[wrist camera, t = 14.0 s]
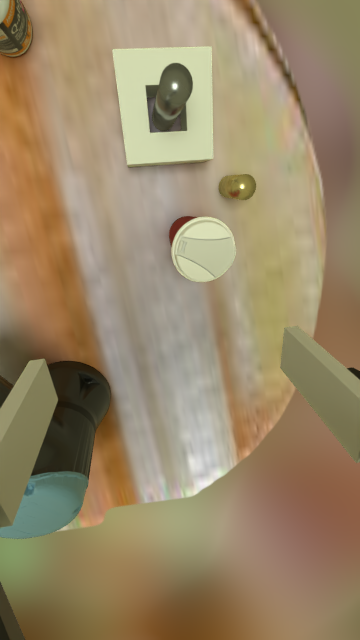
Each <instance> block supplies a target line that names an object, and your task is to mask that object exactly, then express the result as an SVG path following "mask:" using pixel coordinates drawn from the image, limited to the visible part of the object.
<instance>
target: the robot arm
mask: <svg viewBox="0 0 360 640" xmlns="http://www.w3.org/2000/svg"><path fill="white" fill-rule="evenodd" d="M280 368H281V369H282V371H283V372H284V373H285V374H286V376H287V377H288V378H289V379H290V381H291V382H292V383H293V384H294V386H295V387H296V388H297V389H298V391H299V392H300V393H301V394H302V395H303V397H304V398H305V399H306V401H307V402H308V403H309V404H310V406H311V407H312V408H313V409H314V411H315V412H316V413H317V414H318V416H319V417H320V418H321V419H322V421H323V422H324V423H325V424H326V426H327V427H328V428H329V429H330V431H331V432H332V433H333V434H334V436H335V437H336V438H337V439H338V441H339V442H340V443H341V444H342V446H343V447H344V448H345V450H346V451H347V452H348V453H349V454H350V456H351V457H352V458H353V459H354V461H355V462H356V463H358V462H360V371H358V370H356V369H354V368H345V367H344V366H343V365H342V364H341V363H340V362H338V361H337V360H336V359H335V358H334V357H333V356H332V355H330V354H329V353H328V352H327V351H326V350H325V349H323V348H322V347H321V346H320V345H319V344H318V343H316V342H315V341H314V340H313V339H312V338H311V337H309V336H308V335H307V334H306V333H305V332H304V331H302V330H301V329H300V328H299V327H298V326H293V327H286V328H284V337H283V347H282V356H281V366H280ZM110 396H111V393H110V387H109V384H108V382H107V381H106V379H105V378H104V376H103V375H102V374H101V373H100V372H98V371H97V370H96V369H94V368H92V367H90V366H88V365H86V364H83V363H79V362H72V361H63V362H56V363H52V364H49V365H47V364H46V361H45V359H38V360H30V361H29V362H28V364H27V366H26V367H25V369H24V371H23V372H22V374H21V376H20V377H19V379H18V380H17V382H16V384H15V385H14V386H13V385H12V384H10V383H9V382H8V381H7V380H5V379H4V378H3V377H2V376H0V537H3V538H12V539H13V538H14V539H24V538H32V537H38V536H42V535H46V534H49V533H52V532H55V531H57V530H59V529H61V528H63V527H64V526H66V525H67V524H69V523H70V522H71V521H72V520H73V519H74V518H75V517H76V516H77V514H78V513H79V511H80V509H81V507H82V504H83V500H84V496H85V492H86V489H87V487H88V480H89V473H90V466H91V459H92V452H93V445H94V438H95V431H96V429H97V428H98V426H99V425H100V423H101V421H102V420H103V418H104V417H105V415H106V413H107V411H108V408H109V404H110ZM0 640H25V638H24V636H23V633H22V631H21V629H20V627H19V624H18V622H17V620H16V617H15V615H14V613H13V610H12V608H11V606H10V603H9V601H8V599H7V596H6V594H5V592H4V590H3V587H2V585H1V583H0Z"/></svg>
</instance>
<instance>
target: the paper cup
mask: <svg viewBox="0 0 360 640" xmlns="http://www.w3.org/2000/svg"><path fill="white" fill-rule="evenodd" d="M169 239H170V243H171V247H172V251H171V253H172V259H173V263H174V265H175V267H176V269H177V270H178V272H179V273H180V274H181V275H182V276H184V277H185V278H187V279H189V280H191V281H194V282H208V281H212V280H214V279H216V278H218V277H220V276H221V275H222V274H223V273H225V272H226V271H227V270H228V269H229V267H230V266H231V265H232V263H233V261H234V258H235V255H236V247H235V241H234V237H233V234H232V233H231V231H230V229H229V228H228V227H227V226H226V225H225V224H224V223H223V222H221V221H220V220H218V219H215V218H212V217H198V218H197V217H190V216H186V217H181V218H179V219H177V220H176V221H175V222H174V223H173V225H172V226H171V228H170V232H169Z"/></svg>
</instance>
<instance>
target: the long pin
mask: <svg viewBox="0 0 360 640" xmlns="http://www.w3.org/2000/svg"><path fill="white" fill-rule="evenodd" d="M192 89H193V80H192V76H191V74H190V72H189V70H188V69H187V68H186V67H185V66H184V65H182V64H180V63H172V64H169V65H168V66H167V67H165V69H164V70H163V72H162V74H161V77H160V82H159V86H158V91H157V95H156V100H155V104H154V109H153V113H152V121H153V124H154V126H155V127H156V128H157V129H158V130H160V131H167V130H169V129H170V128H171V127H172V126H173V124H174V122H175V121H176V119H177V117H178V116H179V114H180V112H181V111H182V109H183V107H184V106H185V104H186V102H187V101H188V99H189V97H190V95H191V93H192Z"/></svg>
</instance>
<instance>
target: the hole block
mask: <svg viewBox="0 0 360 640" xmlns="http://www.w3.org/2000/svg"><path fill="white" fill-rule="evenodd" d="M112 51H113V59H114V66H115V74H116V82H117V90H118V97H119V105H120V113H121V120H122V128H123V136H124V143H125V151H126V159H127V165H128V167H138V166H153V165H167V164H182V163H197V162H206V161H209V160H212V159H213V108H212V47H176V48H140V49H112ZM172 63H180V64H182V65H184V66H185V67H186V68H187V69H188V70H189V72H190V74H191V76H192V80H193V89H192V93H191V95H190V97H189V99H188V101H187V102H186V104H185V106H184V107H183V109H182V111H181V112H180V119H181V131H175V132H157V133H150V128H149V118H148V107H147V97H156V95H157V91H158V86H159V82H160V77H161V74H162V72H163V70H164V69H165V67H167V66H168V65H169V64H172Z"/></svg>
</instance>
